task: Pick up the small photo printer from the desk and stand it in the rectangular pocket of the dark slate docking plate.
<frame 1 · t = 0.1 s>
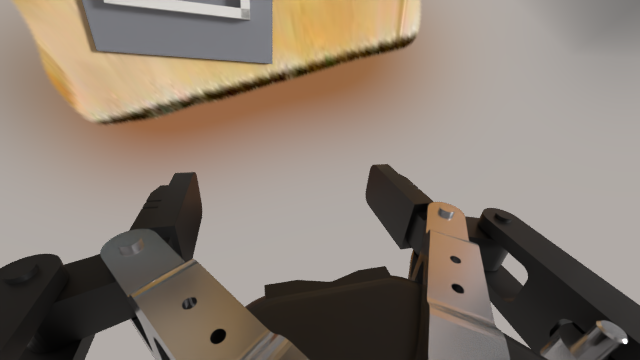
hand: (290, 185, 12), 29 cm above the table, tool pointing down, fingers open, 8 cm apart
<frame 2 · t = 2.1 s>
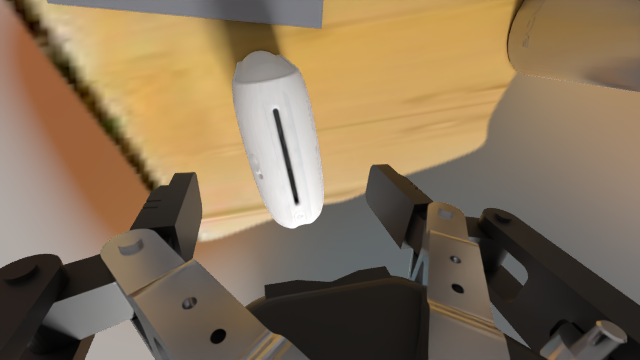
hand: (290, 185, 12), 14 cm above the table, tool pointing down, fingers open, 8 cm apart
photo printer: (271, 110, 24), on the table
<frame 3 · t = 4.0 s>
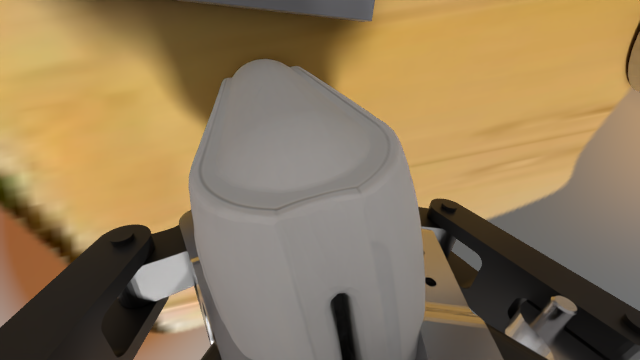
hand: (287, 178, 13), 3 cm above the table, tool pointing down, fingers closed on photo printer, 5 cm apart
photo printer: (280, 153, 15), on the table, touching gripper
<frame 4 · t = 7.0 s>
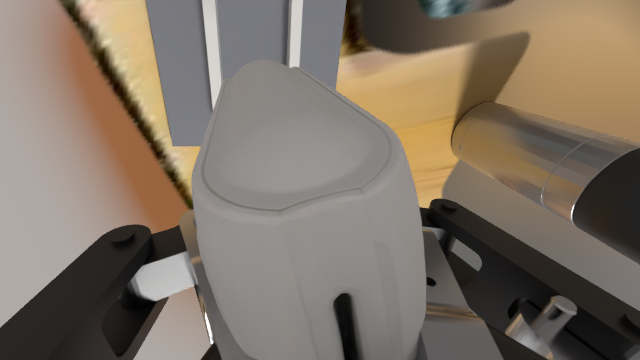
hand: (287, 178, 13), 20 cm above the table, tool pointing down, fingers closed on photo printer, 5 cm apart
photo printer: (280, 154, 15), point 17 cm above the table, touching gripper
dock: (254, 53, 27), on the table
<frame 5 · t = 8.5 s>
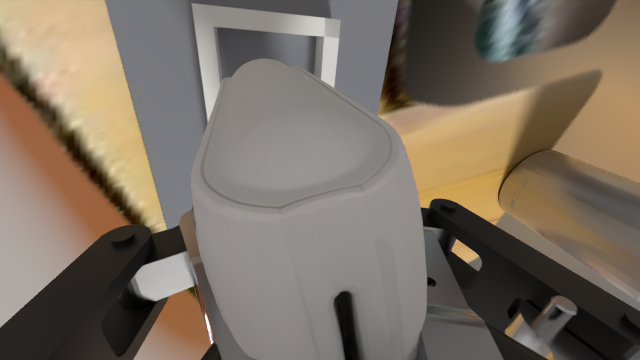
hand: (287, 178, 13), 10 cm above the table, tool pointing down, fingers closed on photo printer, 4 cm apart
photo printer: (279, 153, 15), point 7 cm above the table, touching gripper
dock: (269, 120, 21), on the table
when the fingers open (5 cm above the table, at t = 9.8 s): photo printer drops 1 cm, resting on dock.
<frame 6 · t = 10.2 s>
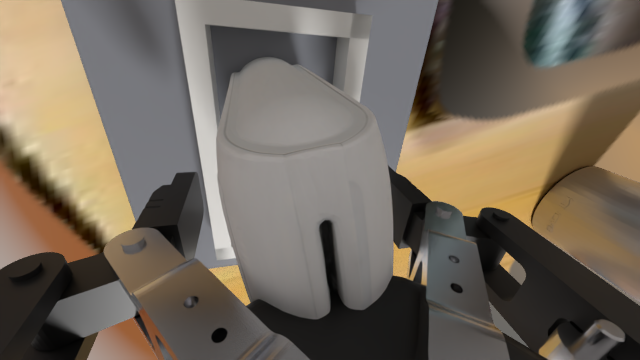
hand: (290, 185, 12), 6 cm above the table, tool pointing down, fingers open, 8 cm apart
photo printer: (279, 144, 16), point 1 cm above the table, touching dock
dock: (276, 139, 17), on the table
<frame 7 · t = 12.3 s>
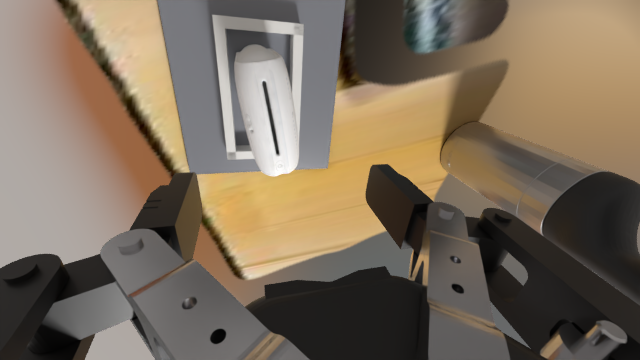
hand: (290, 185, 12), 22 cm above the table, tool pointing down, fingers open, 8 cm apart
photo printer: (262, 94, 30), point 1 cm above the table, touching dock
dock: (260, 92, 30), on the table
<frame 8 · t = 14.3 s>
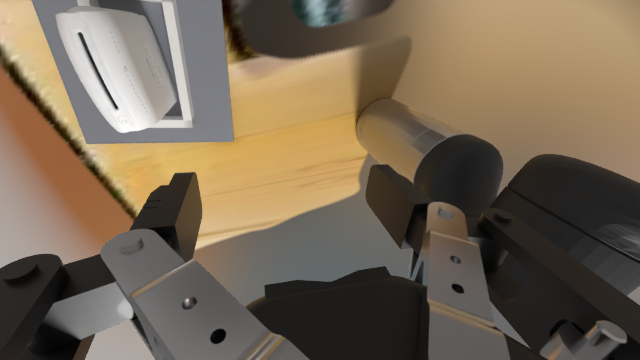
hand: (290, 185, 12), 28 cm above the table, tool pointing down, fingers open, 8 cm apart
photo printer: (148, 63, 31), point 1 cm above the table, touching dock
dock: (149, 62, 31), on the table
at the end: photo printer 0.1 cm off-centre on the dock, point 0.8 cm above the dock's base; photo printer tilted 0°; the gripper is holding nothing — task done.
